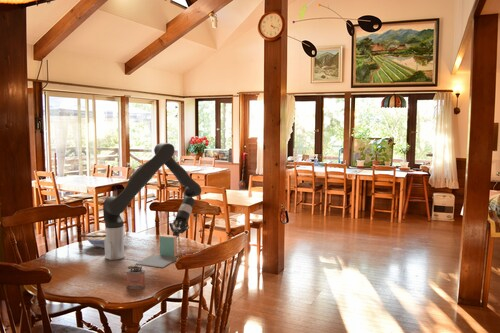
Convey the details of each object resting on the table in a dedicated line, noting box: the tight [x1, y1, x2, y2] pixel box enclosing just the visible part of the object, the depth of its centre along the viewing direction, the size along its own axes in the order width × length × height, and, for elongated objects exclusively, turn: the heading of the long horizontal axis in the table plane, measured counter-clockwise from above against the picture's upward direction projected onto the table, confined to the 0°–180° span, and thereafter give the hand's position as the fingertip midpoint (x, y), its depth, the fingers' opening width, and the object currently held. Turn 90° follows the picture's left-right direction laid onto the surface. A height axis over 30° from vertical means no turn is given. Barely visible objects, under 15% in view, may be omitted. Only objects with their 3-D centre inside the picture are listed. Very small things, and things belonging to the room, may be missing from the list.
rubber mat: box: [135, 253, 179, 269], centre depth 213 cm, size 16×16×1 cm
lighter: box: [125, 264, 146, 290], centre depth 178 cm, size 8×3×10 cm, turn 92°
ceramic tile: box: [159, 234, 178, 257], centre depth 222 cm, size 3×9×11 cm, turn 71°
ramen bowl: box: [78, 229, 127, 249], centre depth 239 cm, size 25×23×8 cm
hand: (174, 238), depth 228 cm, fingers closed
